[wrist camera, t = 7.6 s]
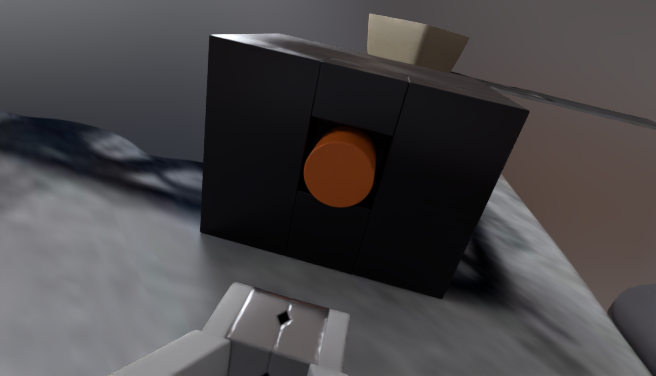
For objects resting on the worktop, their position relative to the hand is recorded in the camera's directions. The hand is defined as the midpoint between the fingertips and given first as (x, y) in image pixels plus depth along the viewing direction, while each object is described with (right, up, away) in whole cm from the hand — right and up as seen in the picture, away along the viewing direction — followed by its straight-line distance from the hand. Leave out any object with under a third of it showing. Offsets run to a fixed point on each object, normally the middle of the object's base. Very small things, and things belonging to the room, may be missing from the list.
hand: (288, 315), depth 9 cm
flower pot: (+21, +29, +85) cm, 93 cm away
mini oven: (+1, +1, +19) cm, 19 cm away
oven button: (+1, +3, +11) cm, 11 cm away
